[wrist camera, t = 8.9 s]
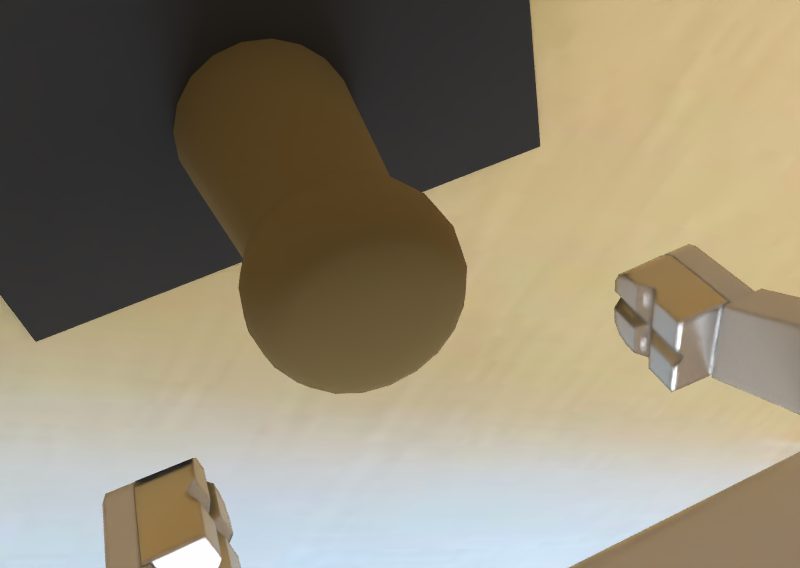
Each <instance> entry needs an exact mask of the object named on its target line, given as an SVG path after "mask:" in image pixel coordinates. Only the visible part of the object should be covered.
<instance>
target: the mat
mask: <svg viewBox="0 0 800 568" xmlns="http://www.w3.org/2000/svg"><path fill="white" fill-rule="evenodd" d="M271 38H272V39H277V40H282V41H286V42H291V43H296V44H301V45H303V46H304V47H306V48H308V49H310V50H311V51H313V52H315V53H316V54H318V55H320V56H321V57H323V58H325V59H326V60H327V61H328V62H329V63H330V65H331V66H332V67H333V68H334V69H335V70H336V72H337V73H338V74H339V75H340V76H341V77H342V79H343V80H344V82H345V84H346V86H347V88H348V90H349V92H350V94H351V96H352V98H353V100H354V102H355V105H356V107H357V109H358V111H359V113H360V115H361V117H362V119H363V121H364V123H365V125H366V127H367V129H368V132H369V134H370V136H371V138H372V140H373V142H374V144H375V146H376V148H377V150H378V152H379V154H380V156H381V159H382V161H383V163H384V165H385V167H386V169H387V171H388V173H389V175H390V177H392V178H394V179H396V180H398V181H400V182H402V183H404V184H406V185H408V186H410V187H412V188H414V189H416V190H418V191H420V192H423V191H426V190H429V189H431V188H434V187H436V186H439V185H442V184H444V183H447V182H449V181H452V180H454V179H457V178H460V177H462V176H465V175H467V174H470V173H472V172H475V171H478V170H480V169H483V168H485V167H488V166H491V165H493V164H496V163H498V162H501V161H503V160H506V159H509V158H511V157H514V156H516V155H519V154H522V153H524V152H527V151H529V150H532V149H534V148H537V147H540V137H539V124H538V110H537V97H536V83H535V70H534V56H533V43H532V29H531V16H530V3H529V0H0V295H1V296H2V298H3V299H4V300H5V302H6V303H7V304H8V306H9V307H10V308H11V309H12V311H13V312H14V313H15V315H16V316H17V317H18V319H19V320H20V321H21V323H22V324H23V325H24V327H25V328H26V329H27V331H28V332H29V333H30V335H31V336H32V337H33V339H34V340H35V341H39V340H42V339H44V338H47V337H49V336H52V335H55V334H57V333H60V332H62V331H65V330H67V329H70V328H73V327H75V326H78V325H80V324H83V323H86V322H88V321H91V320H93V319H96V318H98V317H101V316H104V315H106V314H109V313H111V312H114V311H117V310H119V309H122V308H124V307H127V306H129V305H132V304H135V303H137V302H140V301H142V300H145V299H147V298H150V297H153V296H155V295H158V294H160V293H163V292H166V291H168V290H171V289H173V288H176V287H178V286H181V285H184V284H186V283H189V282H191V281H194V280H196V279H199V278H202V277H204V276H207V275H209V274H212V273H215V272H217V271H220V270H222V269H225V268H227V267H230V266H233V265H235V264H238V263H240V262H243V258H242V256H241V255H240V253H239V252H238V250H237V249H236V247H235V246H234V244H233V242H232V241H231V239H230V238H229V236H228V235H227V233H226V232H225V230H224V229H223V227H222V226H221V224H220V223H219V221H218V220H217V218H216V217H215V215H214V214H213V212H212V211H211V209H210V207H209V206H208V204H207V203H206V201H205V200H204V198H203V197H202V195H201V194H200V192H199V191H198V189H197V188H196V186H195V185H194V183H193V182H192V180H191V178H190V177H189V175H188V174H187V172H186V170H185V169H184V167H183V165H182V164H181V162H180V161H179V157H178V153H177V148H176V143H175V139H174V134H173V130H174V122H175V114H176V107H177V103H178V101H179V99H180V97H181V95H182V93H183V91H184V89H185V87H186V85H187V83H188V81H189V79H190V77H191V76H192V75H193V74H194V73H195V72H196V71H197V70H198V69H199V68H200V67H201V66H202V65H203V64H205V63H206V62H207V61H208V60H209V59H210V58H211V57H212V56H213V55H215V54H217V53H219V52H221V51H223V50H226V49H228V48H230V47H232V46H234V45H236V44H238V43H240V42H247V41H255V40H263V39H271Z"/></svg>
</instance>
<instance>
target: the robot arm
mask: <svg viewBox="0 0 800 568" xmlns="http://www.w3.org/2000/svg"><path fill="white" fill-rule="evenodd" d="M615 292H616V293H618V294H619V295H620V296H621V298H620V300H619V301H618V303H617V305H616V306H615V308H614V316H615V323H616V326H617V329H618V332H619V334H620V336H621V337H622V339H623V341H624V342H625V344H626V345H627V346H628V347H629V348H630V349H631V350H632V351H633V352H634V353H637V354H640V355H643V356H646V357H648V359H649V369H650V370H651V371H652V372H653V373H654V374H655V375H656V376H657V377H658V378H659V379H660V380H661V381H662V382H663V383H664V385H665V386H666V387H667V388H668V389H669V390H670V391H671V392H673V391H676V390H678V389H680V388H682V387H685V386H687V385H689V384H692V383H694V382H696V381H699V380H701V379H703V378H705V377H708V376H710V375H712V378H715V379H717V380H719V381H722V382H724V383H726V384H729V385H731V386H733V387H736V388H738V389H741V390H743V391H745V392H748V393H750V394H752V395H755V396H757V397H760V398H762V399H764V400H767V401H769V402H771V403H774V404H776V405H779V406H781V407H783V408H786V409H788V410H790V411H793V412H795V413H798V414H800V298H799V297H795V296H790V295H786V294H782V293H778V292H774V291H769V290H765V289H760V290H757V291H754V290H752V289H751V288H750V287H748V286H747V285H746V284H745V283H743V282H742V281H741V280H739V279H738V278H737V277H735V276H734V275H733V274H732V273H730V272H729V271H728V270H726V269H725V268H724V267H722V266H721V265H720V264H718V263H717V262H716V261H715V260H713V259H712V258H711V257H709V256H708V255H707V254H705V253H704V252H703V251H701V250H700V249H699V248H698V247H696V246H693V245H690V244H688V245H686V246H683V247H681V248H679V249H676V250H674V251H672V252H669V253H667V254H665V255H663V256H659V257H657V258H655V259H653V260H650V261H648V262H646V263H644V264H641V265H639V266H637V267H635V268H632V269H630V270H628V271H626V272H623V273H621V274H619V275H618V277H617V279H616V280H615ZM103 523H104V542H105V562H106V568H241V567H240V562H239V558H238V555H237V554H236V552H235V551H234V549H233V548H232V547H231V545H230V544H229V543H230V540H231V538H232V535H233V530H232V526H231V522H230V518H229V515H228V512H227V510H226V507H225V504H224V501H223V499H222V497H221V495H220V493H219V491H218V490H217V488H216V487H215V485H214V484H213V483H210V482H206V477H205V472H204V468H203V467H202V466H201V464H200V463H199V461H198V460H197V459H196V458H192V459H190V460H187V461H185V462H182V463H180V464H177V465H175V466H172V467H170V468H167V469H165V470H162V471H160V472H157V473H155V474H152V475H150V476H147V477H145V478H142V479H140V480H137V481H135V482H133V483H131V484H128V485H126V486H123V487H121V488H119V489H116V490H114V491H111V492H109V493H106V494H105V497H104V501H103ZM569 568H800V452H798V453H796V454H794V455H792V456H790V457H788V458H786V459H784V460H782V461H780V462H778V463H776V464H774V465H772V466H771V467H769V468H767V469H765V470H763V471H761V472H759V473H757V474H755V475H753V476H751V477H749V478H747V479H745V480H743V481H741V482H739V483H737V484H735V485H733V486H731V487H729V488H727V489H725V490H723V491H721V492H719V493H717V494H715V495H713V496H711V497H709V498H707V499H705V500H703V501H701V502H699V503H697V504H695V505H693V506H691V507H689V508H687V509H685V510H683V511H681V512H679V513H677V514H675V515H673V516H671V517H669V518H667V519H665V520H663V521H661V522H659V523H657V524H655V525H653V526H651V527H649V528H647V529H645V530H643V531H641V532H639V533H637V534H635V535H633V536H631V537H629V538H627V539H625V540H623V541H621V542H619V543H617V544H615V545H613V546H611V547H609V548H607V549H605V550H603V551H601V552H599V553H597V554H595V555H593V556H591V557H589V558H587V559H585V560H583V561H581V562H579V563H577V564H575V565H573V566H571V567H569Z"/></svg>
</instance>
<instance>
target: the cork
mask: <svg viewBox="0 0 800 568" xmlns="http://www.w3.org/2000/svg"><path fill="white" fill-rule="evenodd" d="M173 134H174V139H175V143H176V148H177V153H178V157H179V161H180V162H181V164H182V165H183V167H184V169H185V170H186V172H187V174H188V175H189V177H190V178H191V180H192V182H193V183H194V185H195V186H196V188H197V189H198V191H199V192H200V194H201V195H202V197H203V198H204V200H205V201H206V203H207V204H208V206H209V207H210V209H211V211H212V212H213V214H214V215H215V217H216V218H217V220H218V221H219V223H220V224H221V226H222V227H223V229H224V230H225V232H226V233H227V235H228V236H229V238H230V239H231V241H232V242H233V244H234V246H235V247H236V249H237V250H238V252H239V253H240V255H241V256H242V258H243V262H242V267H241V272H240V280H239V292H240V297H241V303H242V308H243V314H244V318H245V321H246V325H247V328H248V331H249V333H250V335H251V336H252V338H253V339H254V341H255V342H256V344H257V345H258V346H259V348H260V349H261V351H262V352H263V354H264V355H265V357H266V358H267V359H268V360H269V361H270V362H271V364H272V365H273V366H274V367H275V368H276V369H278V370H279V371H281V372H282V373H284V374H285V375H287V376H289V377H290V378H292V379H293V380H295V381H296V382H298V383H300V384H303V385H305V386H308V387H311V388H315V389H319V390H323V391H327V392H331V393H335V394H339V393H363V392H367V391H370V390H374V389H378V388H381V387H385V386H388V385H391V384H393V383H395V382H397V381H399V380H400V379H402V378H404V377H406V376H408V375H410V374H412V373H414V372H415V371H417V370H418V369H419V368H420V367H421V366H423V365H424V364H425V363H426V362H427V361H429V360H430V359H431V358H432V357H433V356H434V355H436V354H437V353H438V352H439V350H440V349H441V348H442V346H443V345H444V343H445V342H446V341H447V339H448V338H449V337H450V335H451V334H452V333H453V331H454V329H455V327H456V324H457V322H458V319H459V316H460V314H461V311H462V309H463V306H464V300H465V292H466V274H467V265H466V262H465V259H464V256H463V253H462V250H461V247H460V244H459V241H458V238H457V236H456V233H455V230H454V227H453V225H452V224H451V223H450V222H449V221H448V220H447V219H446V217H445V216H444V215H443V214H442V213H441V212H440V211H439V210H438V208H437V207H436V206H435V205H434V204H433V203H432V202H431V201H430V200H429V198H428V197H427V196H426V195H425V194H424V193H422V192H420V191H418V190H416V189H414V188H412V187H410V186H408V185H406V184H404V183H402V182H400V181H398V180H396V179H394V178H392V177H390V175H389V173H388V171H387V169H386V167H385V165H384V163H383V161H382V159H381V156H380V154H379V152H378V150H377V148H376V146H375V144H374V142H373V140H372V138H371V136H370V134H369V132H368V129H367V127H366V125H365V123H364V121H363V119H362V117H361V115H360V113H359V111H358V109H357V107H356V105H355V102H354V100H353V98H352V96H351V94H350V92H349V90H348V88H347V86H346V84H345V82H344V80H343V79H342V77H341V76H340V75H339V74H338V73H337V72H336V70H335V69H334V68H333V67H332V66H331V65H330V63H329V62H328V61H327V60H326V59H325V58H323V57H321V56H320V55H318V54H316V53H315V52H313V51H311V50H310V49H308V48H306V47H304V46H303V45H301V44H296V43H291V42H286V41H282V40H277V39H272V38H271V39H263V40H255V41H247V42H240V43H238V44H236V45H234V46H232V47H230V48H228V49H226V50H223V51H221V52H219V53H217V54H215V55H213V56H212V57H211V58H210V59H209V60H208V61H207V62H206V63H205V64H203V65H202V66H201V67H200V68H199V69H198V70H197V71H196V72H195V73H194V74H193V75H192V76H191V77H190V79H189V81H188V83H187V85H186V87H185V89H184V91H183V93H182V95H181V97H180V99H179V101H178V103H177V107H176V114H175V122H174V130H173Z"/></svg>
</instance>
